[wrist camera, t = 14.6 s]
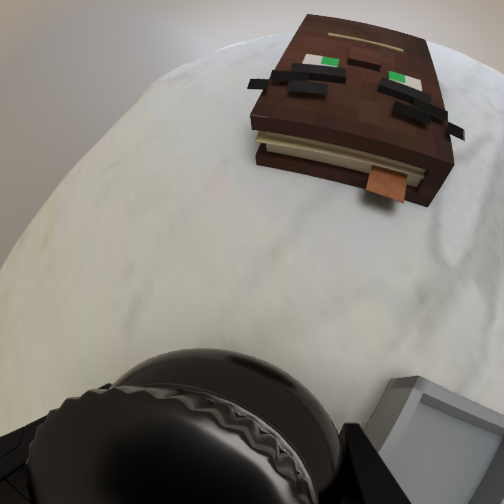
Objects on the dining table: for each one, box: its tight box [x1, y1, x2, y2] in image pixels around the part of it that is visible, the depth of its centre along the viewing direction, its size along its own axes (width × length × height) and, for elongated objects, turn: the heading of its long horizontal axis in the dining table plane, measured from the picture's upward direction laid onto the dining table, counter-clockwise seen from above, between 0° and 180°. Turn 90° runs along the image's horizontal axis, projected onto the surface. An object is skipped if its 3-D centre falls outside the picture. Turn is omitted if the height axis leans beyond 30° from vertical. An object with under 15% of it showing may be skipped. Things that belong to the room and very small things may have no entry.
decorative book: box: [247, 14, 465, 207], centre depth 28 cm, size 19×8×30 cm
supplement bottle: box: [25, 348, 346, 504], centre depth 8 cm, size 7×7×12 cm
